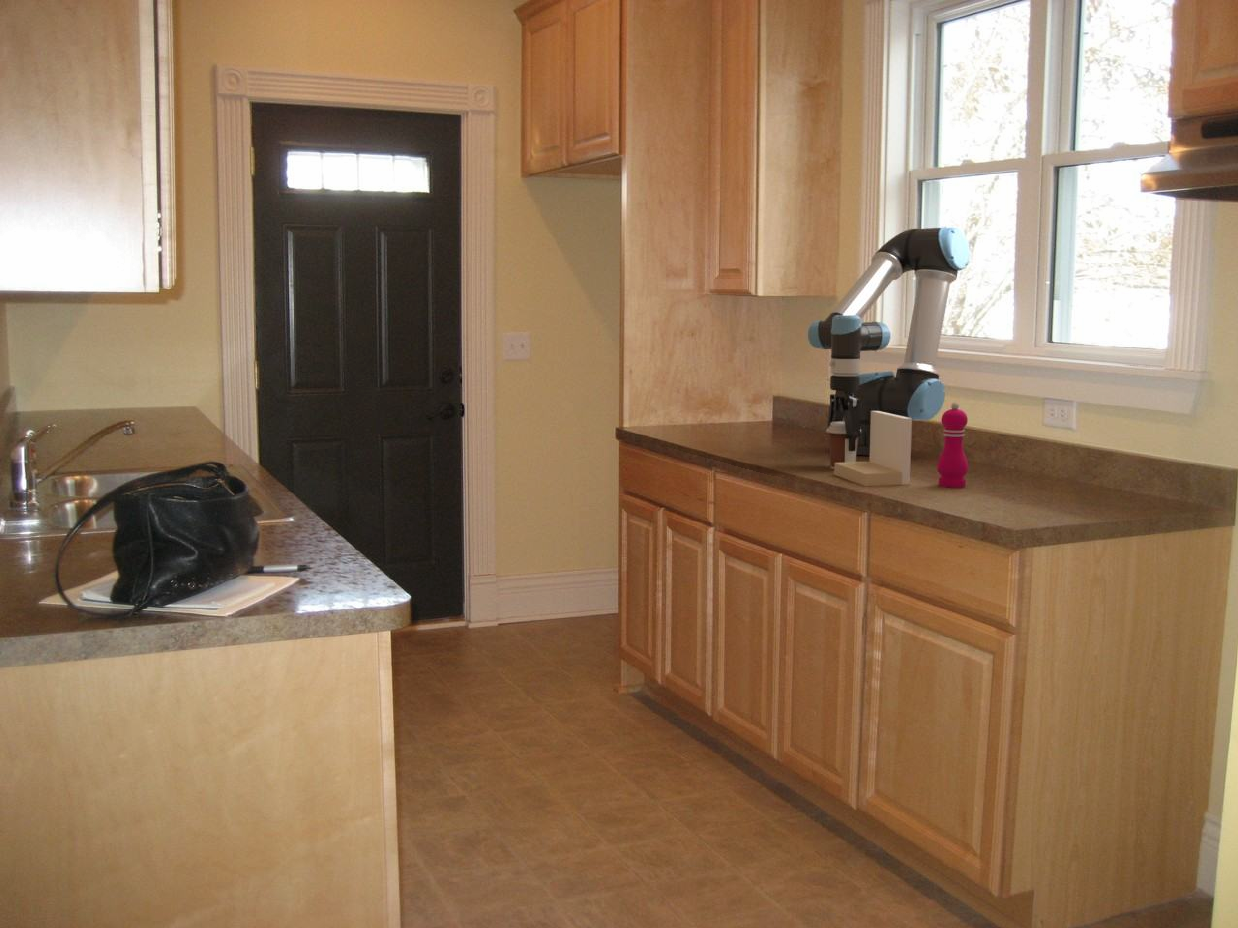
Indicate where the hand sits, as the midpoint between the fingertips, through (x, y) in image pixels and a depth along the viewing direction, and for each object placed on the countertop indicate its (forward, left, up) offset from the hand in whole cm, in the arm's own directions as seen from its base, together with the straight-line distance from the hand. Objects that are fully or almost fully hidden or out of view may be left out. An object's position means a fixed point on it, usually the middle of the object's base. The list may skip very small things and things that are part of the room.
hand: (842, 460), depth 323 cm
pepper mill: (-14, +33, -2) cm, 36 cm away
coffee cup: (0, 0, -2) cm, 2 cm away
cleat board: (+1, +19, -2) cm, 20 cm away
